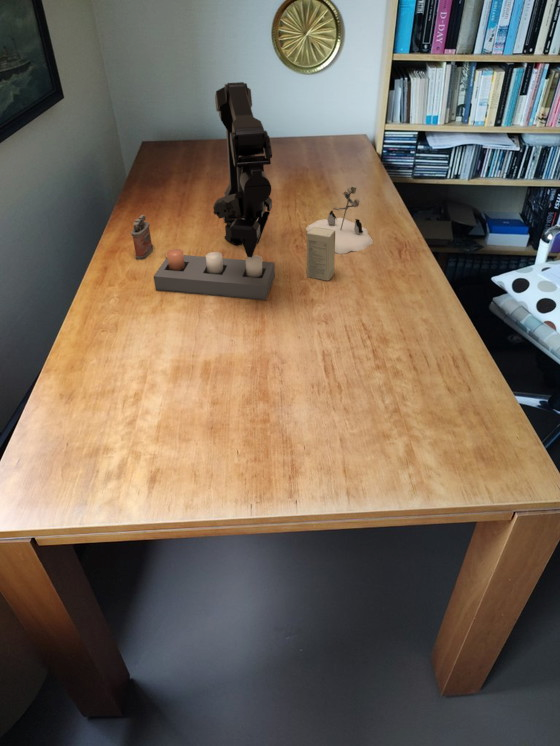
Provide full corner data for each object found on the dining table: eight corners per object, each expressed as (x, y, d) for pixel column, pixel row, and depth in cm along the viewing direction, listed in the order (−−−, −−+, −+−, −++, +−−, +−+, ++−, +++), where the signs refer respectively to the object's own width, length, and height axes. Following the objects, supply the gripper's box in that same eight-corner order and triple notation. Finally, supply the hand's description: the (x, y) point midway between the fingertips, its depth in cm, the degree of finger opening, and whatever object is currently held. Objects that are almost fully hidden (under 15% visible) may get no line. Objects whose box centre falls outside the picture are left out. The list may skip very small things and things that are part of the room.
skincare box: (334, 274, 143) (337, 230, 135) (328, 281, 140) (331, 237, 132) (311, 269, 145) (313, 225, 138) (305, 276, 142) (306, 232, 134)
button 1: (225, 267, 139) (223, 252, 136) (221, 274, 136) (219, 260, 133) (209, 265, 139) (208, 251, 137) (205, 273, 136) (203, 258, 134)
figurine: (292, 232, 160) (297, 178, 149) (336, 216, 170) (344, 164, 159) (340, 263, 150) (350, 208, 139) (384, 244, 159) (397, 191, 148)
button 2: (263, 270, 137) (263, 255, 135) (260, 278, 134) (260, 263, 132) (248, 269, 138) (247, 254, 135) (244, 276, 135) (243, 262, 132)
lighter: (144, 260, 149) (138, 225, 143) (133, 259, 150) (126, 224, 144) (155, 247, 155) (150, 213, 149) (144, 246, 156) (138, 212, 150)
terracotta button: (186, 263, 140) (185, 249, 137) (182, 271, 137) (180, 256, 134) (171, 262, 141) (169, 248, 138) (166, 270, 137) (164, 255, 135)
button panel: (274, 276, 142) (274, 262, 140) (265, 300, 133) (265, 286, 131) (171, 267, 146) (169, 253, 144) (155, 290, 137) (153, 276, 135)
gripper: (225, 169, 130) (230, 231, 140) (203, 199, 116) (210, 265, 126) (272, 172, 129) (272, 234, 139) (255, 203, 115) (257, 269, 124)
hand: (253, 250), depth 132 cm, fingers open, 7 cm apart
